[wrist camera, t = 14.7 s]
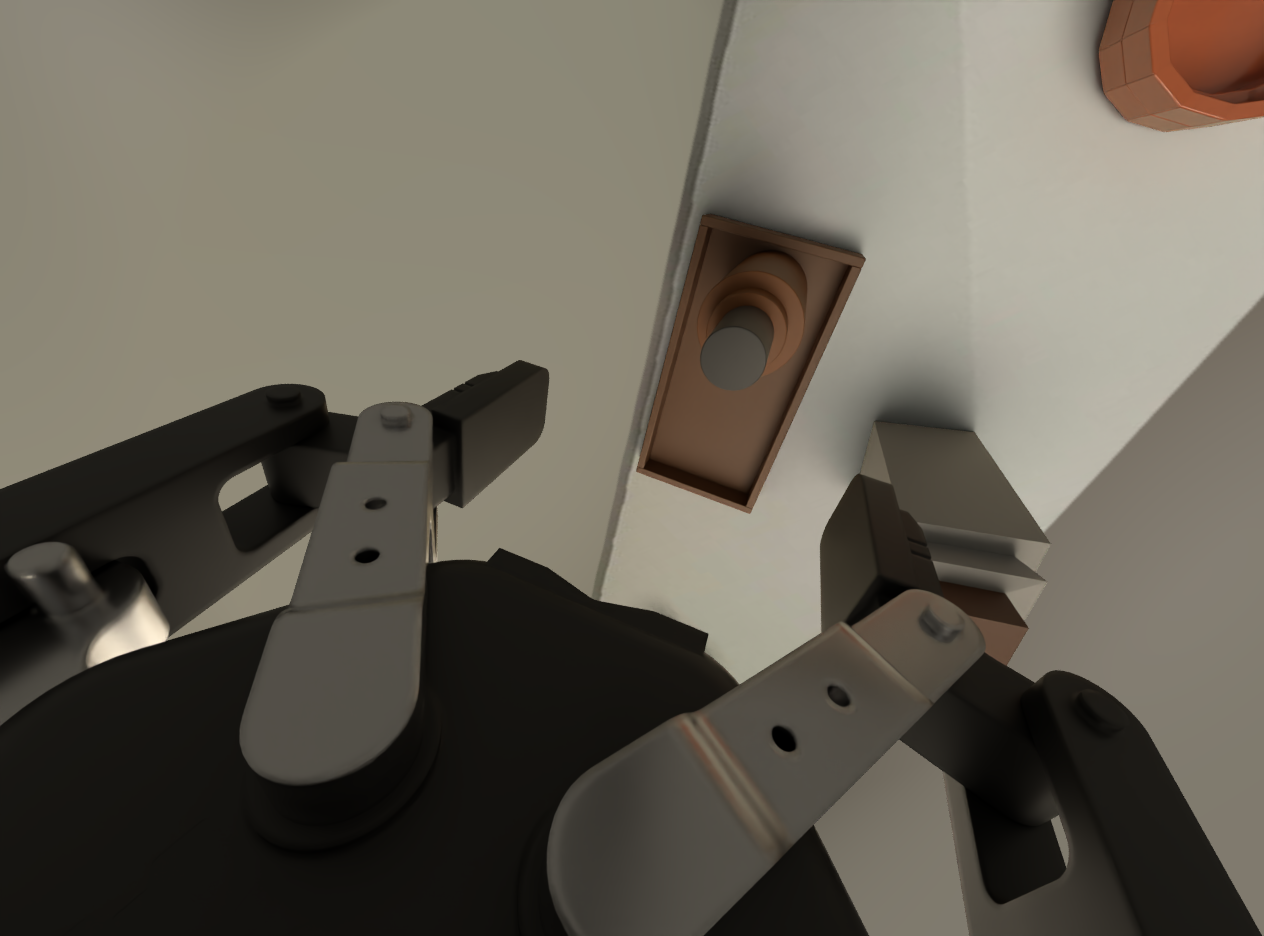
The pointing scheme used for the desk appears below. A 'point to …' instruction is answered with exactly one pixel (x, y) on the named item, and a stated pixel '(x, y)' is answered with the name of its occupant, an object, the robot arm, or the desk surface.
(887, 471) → the perfume bottle
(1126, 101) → the bowl
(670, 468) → the tray
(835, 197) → the desk surface
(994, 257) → the desk surface
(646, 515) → the desk surface
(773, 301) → the bottle
